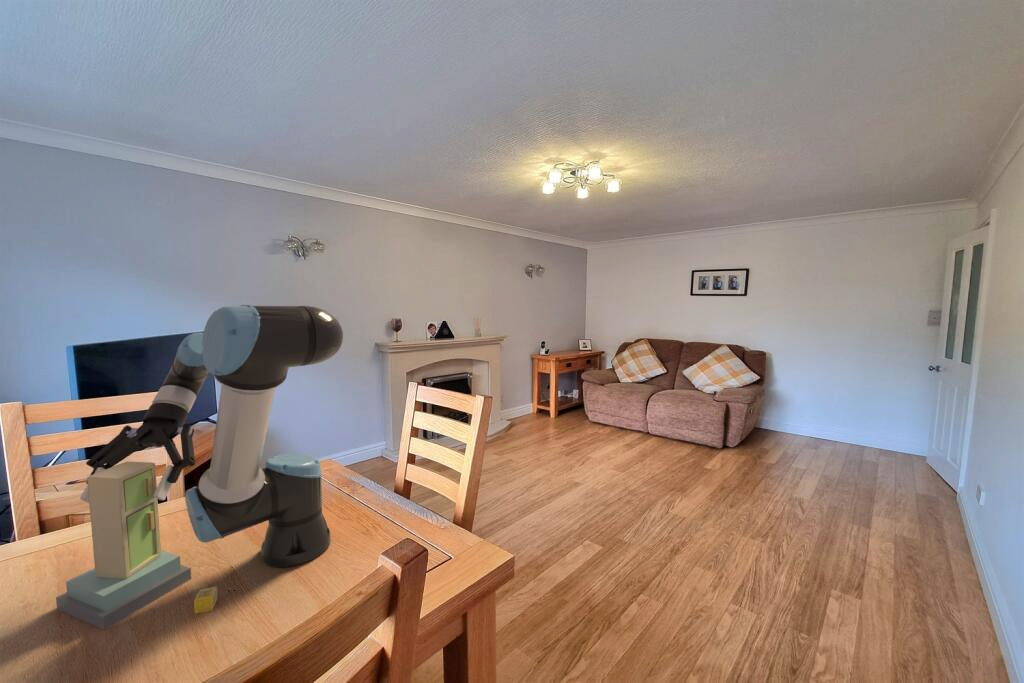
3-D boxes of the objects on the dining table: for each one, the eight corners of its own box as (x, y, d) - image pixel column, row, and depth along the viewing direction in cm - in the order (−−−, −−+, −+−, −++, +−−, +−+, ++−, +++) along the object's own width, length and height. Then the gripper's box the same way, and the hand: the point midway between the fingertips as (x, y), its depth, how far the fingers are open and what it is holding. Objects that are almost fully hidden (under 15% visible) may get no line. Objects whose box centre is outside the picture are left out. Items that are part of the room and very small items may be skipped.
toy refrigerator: (128, 580, 80) (120, 477, 79) (94, 578, 81) (85, 476, 79) (165, 555, 88) (159, 462, 86) (133, 554, 89) (126, 460, 87)
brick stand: (191, 578, 89) (189, 554, 89) (104, 629, 75) (101, 601, 75) (146, 563, 94) (144, 541, 94) (57, 609, 80) (54, 582, 79)
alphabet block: (218, 599, 83) (217, 585, 83) (213, 610, 80) (212, 595, 80) (200, 603, 82) (199, 589, 82) (194, 614, 79) (193, 599, 79)
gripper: (233, 415, 101) (197, 502, 88) (122, 417, 99) (68, 508, 85) (219, 400, 96) (178, 490, 82) (101, 401, 93) (40, 495, 79)
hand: (122, 499), depth 84 cm, fingers open, 13 cm apart
